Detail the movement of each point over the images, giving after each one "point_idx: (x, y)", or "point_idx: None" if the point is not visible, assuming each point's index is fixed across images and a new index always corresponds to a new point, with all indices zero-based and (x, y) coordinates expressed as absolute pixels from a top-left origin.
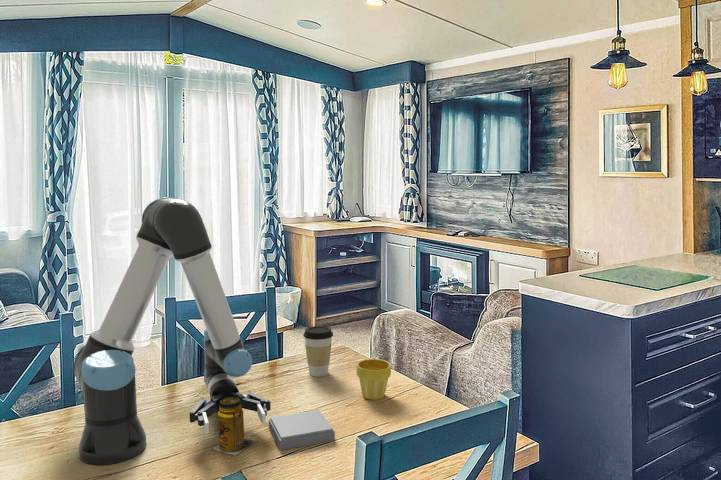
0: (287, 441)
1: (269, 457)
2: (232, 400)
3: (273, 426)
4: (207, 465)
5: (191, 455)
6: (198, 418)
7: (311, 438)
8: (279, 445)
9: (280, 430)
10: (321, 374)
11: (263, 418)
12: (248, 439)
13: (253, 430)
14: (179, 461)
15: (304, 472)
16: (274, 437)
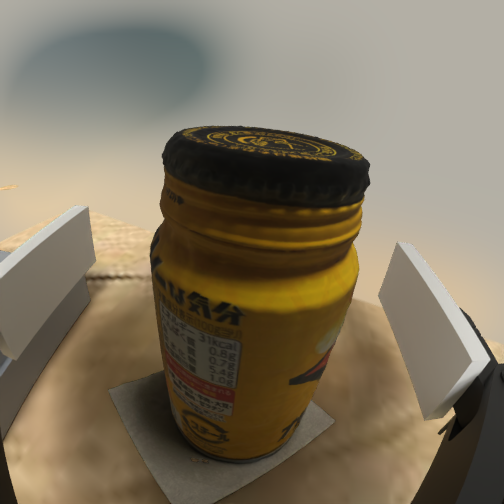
0: None
1: (144, 287)
2: (245, 140)
3: (8, 359)
4: (347, 326)
5: (412, 400)
6: (479, 333)
7: None
8: (83, 297)
9: None
10: None
11: (86, 229)
12: (133, 426)
13: (60, 497)
14: None
15: (125, 225)
16: (42, 363)
